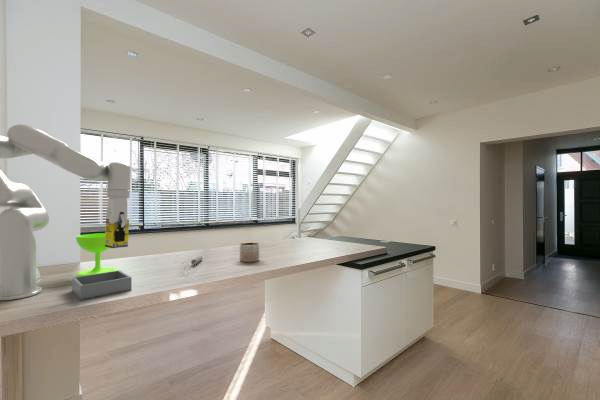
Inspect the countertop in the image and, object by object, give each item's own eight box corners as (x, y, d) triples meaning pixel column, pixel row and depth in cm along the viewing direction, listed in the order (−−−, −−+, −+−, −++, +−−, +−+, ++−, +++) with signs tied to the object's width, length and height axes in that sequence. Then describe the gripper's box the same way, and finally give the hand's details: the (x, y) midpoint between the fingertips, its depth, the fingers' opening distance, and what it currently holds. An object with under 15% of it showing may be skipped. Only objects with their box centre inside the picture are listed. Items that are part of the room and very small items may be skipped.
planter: (263, 259, 164) (263, 243, 164) (250, 263, 155) (250, 245, 155) (248, 257, 170) (248, 241, 170) (235, 261, 161) (235, 244, 161)
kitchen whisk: (206, 259, 166) (206, 248, 166) (191, 275, 133) (191, 261, 133) (195, 259, 166) (195, 248, 165) (177, 275, 132) (177, 262, 132)
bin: (80, 300, 98) (80, 286, 98) (72, 290, 109) (72, 277, 109) (131, 290, 109) (131, 277, 109) (119, 282, 120) (119, 270, 120)
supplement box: (112, 248, 108) (113, 219, 108) (104, 246, 111) (105, 218, 111) (128, 246, 113) (129, 219, 113) (120, 245, 116) (121, 218, 116)
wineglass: (109, 268, 145) (109, 232, 145) (124, 272, 136) (124, 234, 136) (70, 274, 132) (70, 235, 132) (83, 280, 123) (83, 238, 123)
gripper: (101, 193, 115) (99, 238, 115) (114, 194, 104) (112, 243, 104) (122, 194, 121) (120, 237, 121) (136, 195, 109) (134, 242, 109)
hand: (116, 239), depth 112 cm, fingers closed on supplement box, 6 cm apart
